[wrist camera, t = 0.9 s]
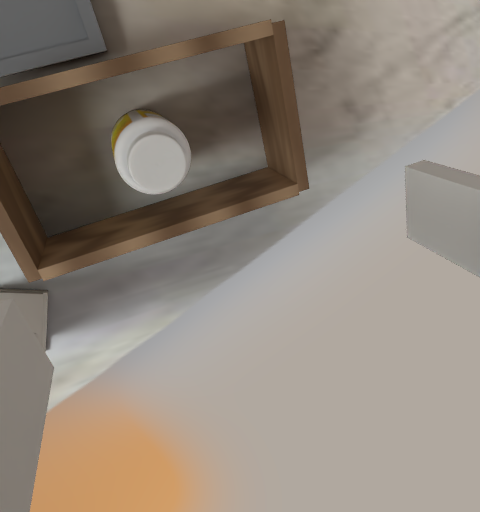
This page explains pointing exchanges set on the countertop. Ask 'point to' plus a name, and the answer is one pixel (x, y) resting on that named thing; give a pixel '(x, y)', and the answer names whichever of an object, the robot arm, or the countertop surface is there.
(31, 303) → the skyscraper
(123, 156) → the supplement bottle
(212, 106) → the countertop surface
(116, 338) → the countertop surface
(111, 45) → the countertop surface
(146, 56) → the frame
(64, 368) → the countertop surface
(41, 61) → the tray
